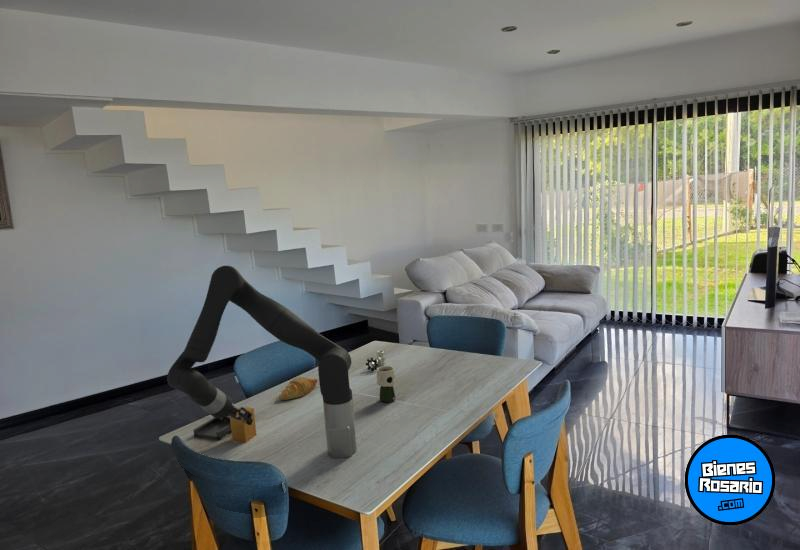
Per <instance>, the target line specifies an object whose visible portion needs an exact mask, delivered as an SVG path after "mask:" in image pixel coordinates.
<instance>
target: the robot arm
mask: <svg viewBox="0 0 800 550" xmlns="http://www.w3.org/2000/svg"><path fill="white" fill-rule="evenodd" d="M210 276H211V278H210V282H209V285H208V289H207V293H206V297H205V300H204V302H203V306H202V309H201V311H200V314H199V316H198V319H197V321H196V322H195V325H194V327H193V329H192V332H191V334H190V336H189V339H188V341H187V342H186V343H187V344H186V346H185V347H184V350H183V351H182V352H181V353H180V354H179V356H178V358H176V360H175V362H174V363H173V364H172V365H171V367H169V368H170V369H169V370H168V372H167V377H166V380H167V385H168V386H170V387H171V388H173V389H175V390H177V391H179V392H182V393H183V394H186V395H187V396H188V397H189V398H190V400H192V402H194V403H195V404H196V405H198V406H199V407H200V408H201V409H202V410H204V411H205V412H206V413H208V414H209V415H211V416H212V418H220V419H223V420H224V421H226V422H227V423H230V418H232V419H235V420H237V421H238V420H242V421H244V422H245V423H246V424H248V425H251V424H252V422H253V419H252V418H251V417H252V414H251V413H250V412H249V411H247V410H246V409H245V408H243V407H244V406H240V407H241V409H238V408H239V407H236V406H235V405H234V403H233V399H232V398H231V397H230V396H229V395H227V394H225V392H223V391H221V390H220V388H218V387H215V386H214V385H213V384H211V383H210V382H209V381H208V379H207V378H206V377H205V376H204V375H203V374H202V373H201V372H199V371H198V370H195V369H193V367H194V365H195V364H196V363H205V362H206V361H207V360H208V357H209V355H210V352H211V350H212V348H213V345H214V343H215V341H216V339H217V338H216V337H217V334H218V333H219V332H218V331H219V328H220V324H221V321H222V318H223V314H224V312H225V310H226V307H227V305H228V304H229V302H231V303H233V304H234V305H236V306H237V307H239V308H240V309H241V310H243V311H245V312H246V313H247V314H248V315H249V316H250V317H251V318H252V319H253V320H254V321H255V322H256V323H257V324H258V325H259V326H261V327H262V328H263V329H264V330H265V331H267V333H269V334H270V335H272V336H274V337H275V338H277V340H279V341H280V342H282V343H285V344H287V345H288V346H292V347H294V348H296V349H300V350H301V351H304V352H306V353H307V354H309V355H311V356H312V357H313V358H314V359H315V360H316V361H318V367H317V369H318V370H317V371H318V372H317V373H318V382H319V383H318V384H319V387H320V388H319V389H320V394H321V396H322V404H323V415H324V425H325V426H324V427H325V437H326V446H327V447H326V450H327V454H328V455H329V456H330V457H331V459H337V458H338V459H339V458H347V457H352V456H353V454H355V453H356V452H357V441H356V439H357V438H356V429H355V428H356V427H355V426H356V424H355V414H354V402H353V401H354V400H353V399H354V398H353V390H352V389H351V387H350V379H349V378H350V377H349V370H350V369H351V366H352V358H351V355H350V353H349V352H348V351H347V350H346V349H345V348H343V347H342V346H340V344H339V345H338V344H337V343H335V342H333V341H332V340H330V339H328V338H326V336H323V335H322V334H321V333H319V332H318V331H317V330H315V328H313V327H312V326H310V325H309V324H308V323H307V322H306V321H304V320H302V319H301V318H300V317H299V316H298V315H296V314H295V313H294V312H293V311H291V310H290V309H288V308H287V307H286V306H284V305H283V304H281V303H279V302H278V301H276V300H274V299H273V298H271V297H268V296H267V295H264V294H263V293H261V292H260V291H259V290H257V289H256V288H255V287H254V286H252V285H251V284H250V283H249V282H248V281H247V280H246V279H244V278H245V277H243V276H242V275H241V273H240V271H239V270H238V269H236V268H235V266H232V265H222V266H219V267H217V268H216V269H214V271H213V272H212V274H211V275H210ZM233 405H234V406H233ZM237 413H238V417H236V415H237ZM241 417H242V418H241Z"/></svg>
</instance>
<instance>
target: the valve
mask: <svg viewBox="0 0 800 550" xmlns="http://www.w3.org/2000/svg"><path fill="white" fill-rule="evenodd" d="M385 355H386V354H385V351H384V350H378V351H376V358H374V357H370V358H367V359H366V363H365V366H367V370H368V371H369V370H371V372H374V371H377V368H378V367H382V366H386V356H385Z"/></svg>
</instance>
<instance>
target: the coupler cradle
mask: <svg viewBox="0 0 800 550" xmlns="http://www.w3.org/2000/svg"><path fill="white" fill-rule="evenodd" d="M233 406H235V405H234V404H233ZM230 434H232V431H231V423H227V422H226V421H224V420H223V419H220V418H214V417H212V418H210V419H208V420H207V421H205V422H204V423H202V424H200V425H199V426H197V427H195V428H194V429H193V436H194V438H200V439H209V440H216V441H221V440H223V437H224V438H225V437H227V436H228V435H230ZM226 435H227V436H226ZM220 439H221V440H220Z"/></svg>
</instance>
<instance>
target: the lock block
mask: <svg viewBox="0 0 800 550" xmlns="http://www.w3.org/2000/svg"><path fill="white" fill-rule="evenodd" d="M241 407H243V408H245V409H246V410H247V411H249V412H250V413H251V414H252V417H251V418H252V419H253V422H252V424H251V425H248V424H246V423H245V422H244V421H242V420H238V421H237V420H235V419H232V418H230V423H231V431H232V432H231V439H232V442H234V441H236V442H235V443H243V442H244V443H245V444H247V443H246V442H249V441H251V440H253V438H255V437H256V436H257V429H256V418H255V417H256V416H255V408H254V407H247V406H239V407H237V408H238V409H241ZM236 417H238V413H237V415H236ZM241 418H242V417H241ZM254 436H255V437H254ZM250 439H251V440H250Z"/></svg>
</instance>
